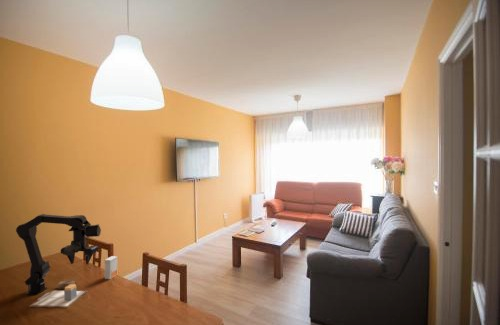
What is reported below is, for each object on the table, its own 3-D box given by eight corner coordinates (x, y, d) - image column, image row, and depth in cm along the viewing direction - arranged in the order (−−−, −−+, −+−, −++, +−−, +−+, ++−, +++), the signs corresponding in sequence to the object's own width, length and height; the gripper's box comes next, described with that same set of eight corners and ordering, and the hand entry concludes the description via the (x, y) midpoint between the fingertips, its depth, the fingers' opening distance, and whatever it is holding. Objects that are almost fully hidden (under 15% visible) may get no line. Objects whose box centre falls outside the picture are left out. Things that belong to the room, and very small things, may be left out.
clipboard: (28, 306, 116) (28, 304, 116) (53, 290, 130) (53, 288, 130) (67, 307, 115) (67, 305, 115) (87, 291, 129) (87, 289, 129)
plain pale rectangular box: (57, 288, 132) (57, 284, 132) (61, 285, 135) (61, 281, 135) (71, 287, 133) (71, 283, 133) (74, 284, 136) (74, 280, 136)
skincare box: (110, 279, 142) (110, 260, 141) (104, 278, 143) (104, 259, 142) (117, 274, 148) (117, 256, 147) (112, 274, 148) (111, 255, 148)
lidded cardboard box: (64, 300, 121) (64, 288, 120) (70, 296, 124) (69, 284, 124) (71, 300, 120) (70, 288, 120) (76, 296, 124) (76, 284, 124)
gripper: (51, 242, 127) (52, 270, 127) (83, 243, 126) (84, 271, 126) (68, 235, 138) (69, 261, 138) (98, 236, 137) (98, 262, 137)
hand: (79, 264), depth 135 cm, fingers open, 9 cm apart
